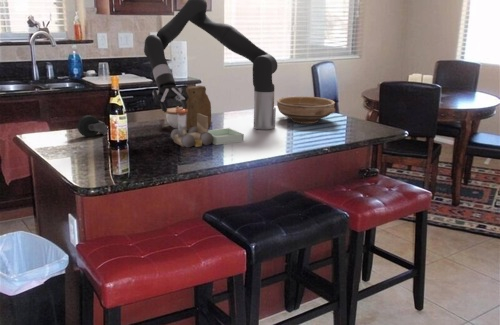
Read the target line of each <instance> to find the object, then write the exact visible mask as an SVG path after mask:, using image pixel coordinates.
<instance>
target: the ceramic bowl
mask: <svg viewBox="0 0 500 325" xmlns="http://www.w3.org/2000/svg"><path fill="white" fill-rule="evenodd" d="M276 102H277V104H276V105H277V109H278V111H279V113H281V114H282V115H283V116H285V117H287V118H290V119H291V121H292V122H293V123H297V124H315V123H318V122H319V120H321V119H325V118H327V117H329V116H330V115H331V114H333V113H335V112H336V108H335V104H336V102H335V101H334V100H332V99H328V98H324V97H318V96H303V95H301V96H299V95H298V96H287V97H286V96H285V97H281V98H278V99H277V100H276Z"/></svg>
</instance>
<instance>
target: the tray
mask: <svg viewBox="0 0 500 325" xmlns="http://www.w3.org/2000/svg"><path fill="white" fill-rule="evenodd" d="M208 133H210V134H212V136H213V141H212V143H211V144H212V145H215V146H218V145H226V144H233V143H241V142H244V137H245V134H244V133H242V132H240V131H238V130H235V129H232V128H230V127H225V128H216V129H215V128H214V129H209V130H208Z"/></svg>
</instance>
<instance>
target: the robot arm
mask: <svg viewBox="0 0 500 325" xmlns="http://www.w3.org/2000/svg"><path fill="white" fill-rule="evenodd" d="M207 8H208V2H207V1H206V0H187V1H186V3H185V4H184V5H183V6H182V8H181V9H180V10H179V11H178V12H177V13H176V14H175V15H174V17H173V18H171V19H170V21H168V22H167V23H166V24H165V25H164V26H162V27H161V28H160V29H158V31H157V33H156V35H155V34H149V35H148V36H146V38H145V40H144V46H143V53H144V55H145V56H146V57H147V58H148V59H149V64H150V67H151V71H152V74H153V77H154V81H155V84H156V87H157V88H154V89H153V90H152V93H151V94H152V98H153V101H154V104H155V105H160V108H161V111H162V112H163V113H166V112H167V109H168V108H167V106H166V102H165V100H174V99H175V100H176V101H178V102H180V104H181V108H183V109H186V108H187V104H186V101H187V100H188V97H189V96H188V94H187V92H186V88H185V86H184V85H183V86H181V87H177V85H176V81H175V78H174V75H173V73H172V71H171V69H170V66H169V64H168V62H167V59H166V56H165V50H166V48H167V47H168V45H170V43H172V42H173V41H175V39H177V37H179V35H180V34H181V33H182V31H183V30H184V28H186V26H187V24H188V23H189V22H190V23H192V24H193V25H195V26H196V27H198V28H200V29H201V30H203V31H204V32H206V33H207V34H208V35H210V36H211V37H212V38H214V39H215V40H217V41H218V42H219V43H220V44H221V45H222V46H224V47H225V48H226V49H228V50H229V51H231V52H233V53H235V54H237V55H239V56H241V57H243V58H245V59H247V60H249V61H250V62H251V63H252V86H253V90H254V91H253V92H254V93H253V129H255V130H260V131H261V130H272V129H276V116H277V115H276V113H277V112H276V110H277V109H276V107H275V84H274V83H273V74H274V73H276V71H277V70H278V61H277V60H276V58H275V57H274V56H273V55H271V54H270V53H268V52H266V51H265V50H263V49H261V48H260V47H259V46H257V45H256V44H255V43H254V42H253V41H251V40H250V39H249V38H247V36H245V35H244V34H243V33H241V32H240V31H239V30H238V29H236V28H235V27H234V26H232V25H230V24H228V23H222V22H216V21H215V20H212V19H211V18H210V17H209V15H207ZM157 89H158V90H157ZM158 95H160V96H161V98H159V96H158Z"/></svg>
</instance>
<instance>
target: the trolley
mask: <svg viewBox="0 0 500 325" xmlns="http://www.w3.org/2000/svg"><path fill="white" fill-rule="evenodd" d="M170 138H171V139H172V140H173V143H175V144H177V145H179V146H181V147H182V148H184V147H186V148H192V147H193V146H194V147H195V148H196V147H197V148H198V147H202V146H203V145H205V146H208V145H210V144H213V143H212V141H213V136H212V134H210V133H208V117H207V116H205V115H202V114H200V113H198V114H197V127H191V128H190V129H189V130H188V131H187V134H185V135H184V136H183V137H182V138H180V137H178V128H173V130H171V133H170Z"/></svg>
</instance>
